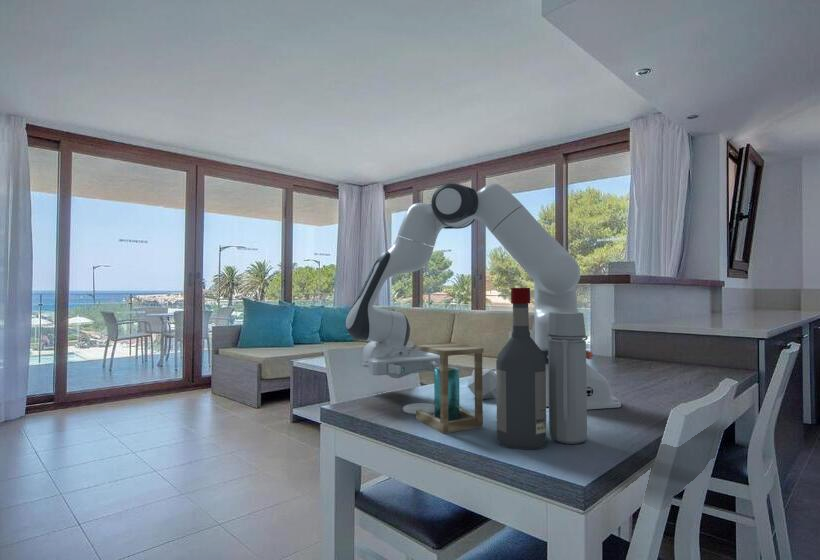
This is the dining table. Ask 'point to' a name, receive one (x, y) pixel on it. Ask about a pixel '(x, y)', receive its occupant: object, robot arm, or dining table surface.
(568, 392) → the water bottle
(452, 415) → the can
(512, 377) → the liquor
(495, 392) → the die
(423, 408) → the coaster
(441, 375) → the rack
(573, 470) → the dining table surface
